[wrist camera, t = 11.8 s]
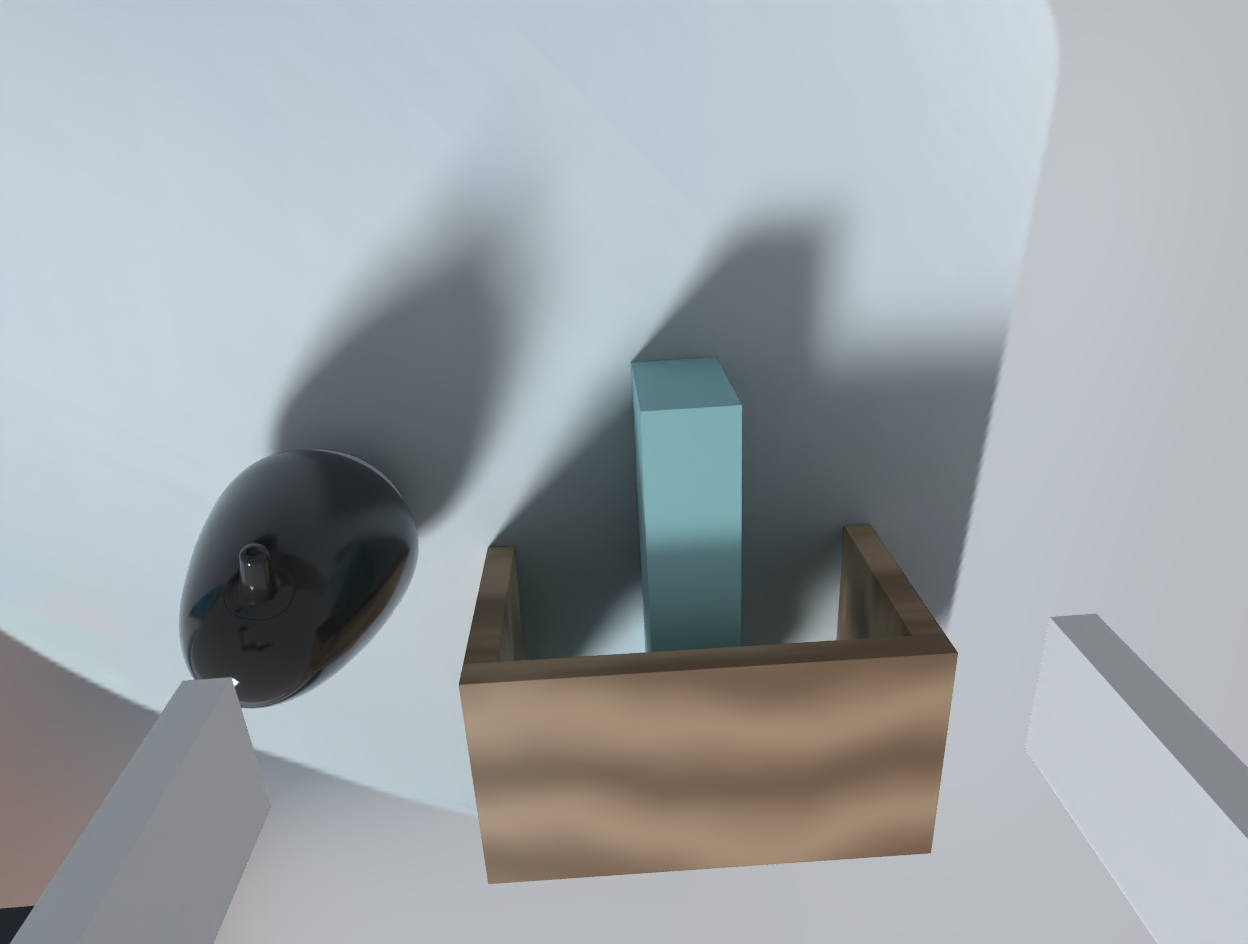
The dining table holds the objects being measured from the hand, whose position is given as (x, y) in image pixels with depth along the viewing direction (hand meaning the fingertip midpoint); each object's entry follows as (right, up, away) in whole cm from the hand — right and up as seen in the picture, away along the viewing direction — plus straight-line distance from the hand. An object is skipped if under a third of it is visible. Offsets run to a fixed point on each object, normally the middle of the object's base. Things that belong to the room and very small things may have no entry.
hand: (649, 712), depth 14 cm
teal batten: (+3, -1, +36) cm, 36 cm away
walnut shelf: (+3, -5, +37) cm, 38 cm away
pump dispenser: (-16, +2, +33) cm, 37 cm away
